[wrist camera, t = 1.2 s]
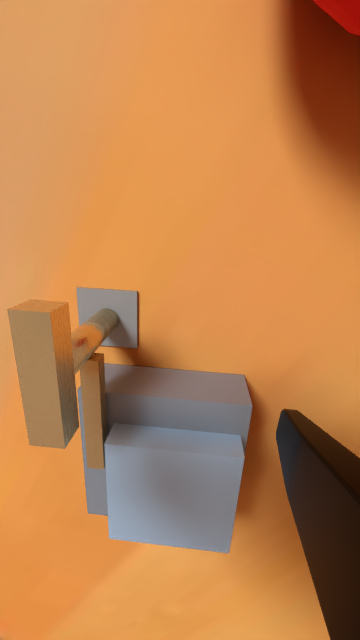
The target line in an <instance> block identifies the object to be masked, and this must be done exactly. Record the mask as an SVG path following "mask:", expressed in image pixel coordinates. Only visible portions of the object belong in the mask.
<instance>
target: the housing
mask: <svg viewBox="0 0 360 640" xmlns="http://www.w3.org/2000/svg"><path fill="white" fill-rule="evenodd" d="M77 300H78V314H79V326H81V325H82V324H83V323H84V322H85V321H87V320H88V319H89V318H90V317H92V316H93V315H94V314H95V313H97V312H98V311H99V310H101V309H103V308H109V309H112V310H113V311H115V312H116V314H117V315H118V318H119V322H118V325H117V327H116V328H115V329H114V330H113V331H112V332H111V334H110V335H109V336H108V337H107V338H106V339H105V340H104V342H103V343H102V344H101V345H102V346H115V347H127V348H137V347H138V291H127V290H112V289H97V288H82V287H77ZM104 367H105V389H106V412H107V434H108V435H109V433H110V431H111V428H112V426H113V424H114V423H120V424H130V425H141V426H151V427H161V428H171V429H182V430H192V431H202V432H212V433H223V434H233V435H241V441H242V446H243V452H244V456H245V450H246V443H247V437H248V431H249V425H250V419H251V413H252V407H253V405H252V402H251V398H250V394H249V391H248V387H247V384H246V380H245V376H244V375H238V374H226V373H214V372H202V371H190V370H178V369H167V368H155V367H143V366H131V365H119V364H107V363H104ZM78 402H79V413H80V425H81V437H82V449H83V461H84V473H85V485H86V497H87V509H88V513H89V514H98V515H106V516H108V504H107V484H106V466H105V468H104V469H95V468H87V455H86V442H85V430H84V417H83V404H82V391H81V386H80V387H79V389H78Z"/></svg>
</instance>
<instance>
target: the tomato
mask: <svg viewBox="0 0 360 640" xmlns="http://www.w3.org/2000/svg"><path fill="white" fill-rule="evenodd" d="M312 1H313V2H315V3H316V4H317V5H318V6H319V7H320V8H322V9H323V10H324V11H325V12H326V13H327V14H328V15H330V16H331V17H332V18H333V19H334V20H335V21H336V22H338V23H339V24H340V25H341V26H342V27H343V28H344V29H346V30H347V31H348V32H349V33H351V34H355V35H358V36H360V0H312Z"/></svg>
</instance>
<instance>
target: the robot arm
mask: <svg viewBox="0 0 360 640" xmlns="http://www.w3.org/2000/svg"><path fill="white" fill-rule="evenodd" d="M276 440H277V445H278V451H279V456H280V461H281V467H282V472H283V477H284V483H285V487H286V492H287V496H288V499H289V503H290V506H291V510H292V513H293V516H294V520H295V523H296V526H297V530H298V533H299V536H300V540H301V543H302V546H303V550H304V553H305V556H306V560H307V563H308V566H309V570H310V573H311V576H312V580H313V583H314V586H315V590H316V593H317V596H318V600H319V603H320V606H321V610H322V613H323V616H324V620H325V623H326V626H327V630H328V633H329V636H330V640H360V458H359V457H357V456H356V455H355V454H353V453H352V452H351V451H350V450H348V449H347V448H346V447H344V446H343V445H342V444H341V443H339V442H338V441H337V440H335V439H334V438H333V437H331V436H330V435H329V434H328V433H326V432H325V431H324V430H322V429H321V428H320V427H318V426H317V425H316V424H315V423H313V422H312V421H311V420H309V419H308V418H307V417H305V416H304V415H303V414H302V413H300V412H299V411H297V410H291V409H283V410H282V412H281V414H280V418H279V422H278V427H277V431H276Z"/></svg>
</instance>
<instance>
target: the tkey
mask: <svg viewBox="0 0 360 640" xmlns="http://www.w3.org/2000/svg"><path fill="white" fill-rule="evenodd" d="M8 316H9V322H10V328H11V334H12V340H13V346H14V353H15V359H16V365H17V371H18V377H19V383H20V389H21V396H22V402H23V408H24V414H25V420H26V426H27V432H28V439H29V445H33V446H42V447H52V448H61V449H65V448H66V446H67V445H68V443H69V442H70V440H71V438H72V437H73V435H74V434H75V432H76V430H77V429H78V427H79V421H78V409H77V397H76V386H75V374H76V373H77V372H78V370H79V369H80V379H81V391H82V404H83V417H84V430H85V442H86V455H87V468H95V469H104V468H105V466H106V464H105V442H106V439H107V437H108V434H107V412H106V389H105V367H104V354H101V353H94V352H95V351H96V350H97V349H98V347H99V346H100V345H101V344H102V343H103V342H104V340H105V339H106V338H107V337H108V336H109V335H110V334H111V332H112V331H113V330H114V329H115V328H116V327H117V325H118V322H119V318H118V315H117V314H116V312H115V311H113V310H112V309H109V308H103V309H101V310H99V311H98V312H97V313H95V314H94V315H93V316H92V317H90V318H89V319H88V320H87V321H85V322H84V323H83V324H82V325H81V326H79V327H78V328H77V329H76V330H74V331H73V332H72V333H71V328H70V316H69V304H68V302H57V301H43V300H29V301H26V302H24V303H22V304H19V305H17V306H15V307H12V308H10V309H8Z"/></svg>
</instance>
